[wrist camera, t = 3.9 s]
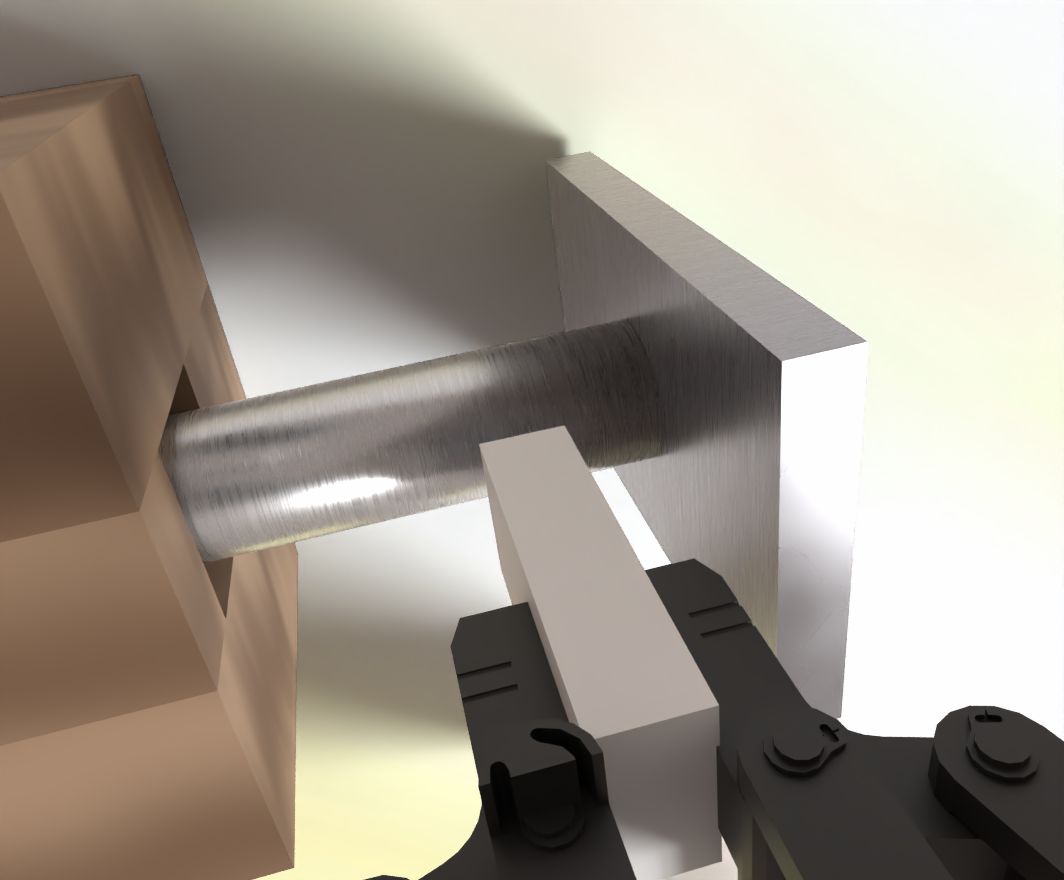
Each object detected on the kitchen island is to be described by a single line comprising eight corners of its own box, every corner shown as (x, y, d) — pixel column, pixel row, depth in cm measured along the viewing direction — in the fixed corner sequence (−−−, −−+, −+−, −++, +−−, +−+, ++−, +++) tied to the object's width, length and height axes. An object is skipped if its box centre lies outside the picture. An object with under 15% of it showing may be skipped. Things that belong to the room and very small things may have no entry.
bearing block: (-243, 136, 19) (-769, 308, 10) (138, 74, 20) (-6, 176, 11) (25, 619, 26) (-130, 987, 17) (298, 554, 27) (293, 867, 18)
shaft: (-461, 346, 19) (-1490, 870, 8) (590, 151, 22) (867, 342, 11) (-274, 589, 23) (-818, 1186, 12) (612, 392, 26) (841, 717, 15)
